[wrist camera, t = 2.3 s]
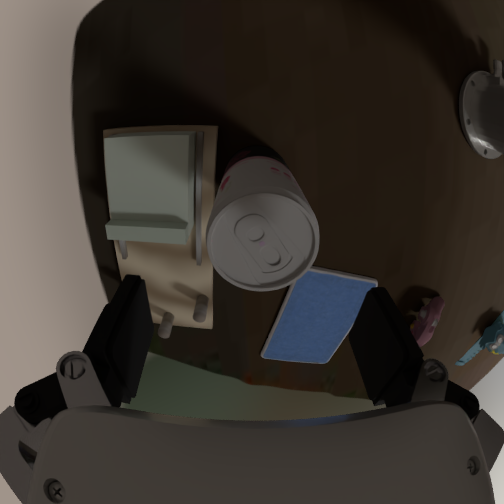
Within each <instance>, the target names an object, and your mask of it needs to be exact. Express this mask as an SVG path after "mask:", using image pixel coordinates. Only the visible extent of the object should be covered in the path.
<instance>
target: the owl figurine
mask: <svg viewBox="0 0 504 504" xmlns="http://www.w3.org/2000/svg"><path fill="white" fill-rule="evenodd" d="M502 323H503V324H502ZM482 347H483V348H482ZM485 347H487V349H488V351H489V352H492V353H494V354H504V310H503V311H502V313H501V314H500V315H499V317H498V318H497V319H496V320H495V321H494V323H493V324H492V325H491V326H490V327H487V328H486V329H485V330H484V333H483V335H482V336H481V338H480V339H479V340H478V341H477V342H476V343H475V344H474V345H473V346H472V347H471V348H470V349H469V351H468V352H467V353H466V354H465V355H464V356H463V357H462V358H461V359H460V361H457V362H456V363H455V365H464V364H465V363H466V362H468V361H469V360H470V359H472V357H474V356H475V355H476V354H477V353H479V351H478V350H482V349H485ZM475 353H476V354H475ZM471 356H472V357H471ZM468 359H469V360H468ZM464 362H465V363H464Z"/></svg>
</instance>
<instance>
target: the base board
mask: <svg viewBox="0 0 504 504" xmlns="http://www.w3.org/2000/svg"><path fill="white" fill-rule="evenodd" d="M162 131H196V142H195V175H194V225H193V228H192V230H191V233H190V235H189V238H188V240H187V243H186V245H183V244H169V243H154V242H139V241H125V240H114V244H115V250H116V255H117V260H118V265H119V270H120V274H121V279H122V280H123V279H124V277H125V275H126V274H132V275H140V277H141V279H144V280H145V283H146V289H147V295H148V300H149V305H150V310H151V315H152V320H153V323H160V327H159V331H158V335H159V336H160V337H162V338H168V337H169V335H170V332H171V328H172V325H177V326H186V327H196V328H207V329H212V326H213V265H212V263H211V261H210V258H209V255H208V250H207V246H206V228H207V224H208V220H209V217H210V214H211V211H212V208H213V205H214V198H215V175H216V155H217V138H218V126H204V125H164V126H140V127H125V128H113V129H106V130H103V141H104V138H107V137H110V136H113V135H116V134H121V133H136V132H162ZM104 161H105V150H104ZM105 175H106V167H105ZM106 186H107V179H106ZM107 196H108V190H107ZM108 204H109V199H108ZM109 212H110V207H109ZM110 219H111V215H110Z"/></svg>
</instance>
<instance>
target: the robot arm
mask: <svg viewBox="0 0 504 504" xmlns="http://www.w3.org/2000/svg"><path fill="white" fill-rule="evenodd" d="M501 62H502V63H501ZM501 62H500V61H498V60H493V68H494V74H490V73H488V72H485V71H474V72H472V73H470V74H469V75H468V76H467V77H466V78H465V80H464V82H463V84H462V86H461V90H460V96H459V114H460V121H461V125H462V129H463V132H464V135H465V137H466V139H467V141H468V143H469V145H470V146H471V148H472V149H473V150H474V151H475V152H476V153H477V154H479V155H481V156H483V157H485V158H489V159H493V158H497V157H498V156H500V155H501V154H504V60H502V61H501ZM501 75H502V77H501ZM153 332H154V325H153V320H152V315H151V310H150V305H149V300H148V295H147V289H146V283H145V280H144V279H141V277H140V275H132V274H126V275H125V277H124V279H123V280H122V282H121V284H120V286H119V288H118V289H117V291H116V293H115V295H114V297H113V299H112V301H111V303H110V304H109V303H108V304H106V306H105V307H104V309H103V311H102V313H101V314H100V316H99V318H98V320H97V322H96V324H95V326H94V328H93V330H92V332H91V335H90V336H89V338H88V341H87V343H86V345H85V347H84V349H83V351H82V352H80V351H72V352H68V353H67V354H64V355H63V356H62V357H61V358H60V359H59V361H58V363H57V366H56V372H55V373H53V374H51V375H49V376H47V377H45V378H43V379H40V380H38V381H36V382H34V383H32V384H30V385H28V386H25V387H23V388H22V389H20V390H19V392H18V393H17V395H16V397H15V403H14V404H15V405H14V406H13V407H11V406H9V407H8V408H7V409H6V410H5V411H3V412H2V413H1V414H0V473H1V474H2V476H3V477H4V479H5V480H6V482H7V483H8V485H9V486H10V488H11V489H12V490H13V492H14V493H15V495H16V496H17V497H18V499H19V500H20V501H21V502H22V504H495V500H494V493H493V488H492V483H491V478H490V475H489V472H490V470H491V469H492V467H493V465H494V463H495V461H496V459H497V457H498V455H499V453H500V451H501V448H502V446H503V444H504V431H503V429H502V428H501V427H500V426H499V425H498V424H497V423H496V422H495V421H494V420H493V419H492V418H491V417H490V416H489V415H488V414H487V413H486V412H485V411H484V410H483V409H481V410H479V401H478V399H477V398H476V396H475V395H474V394H473V393H471V392H470V391H468V390H466V389H464V388H462V387H461V386H459V385H457V384H455V383H453V382H451V381H450V380H448V371H447V369H446V367H445V365H444V364H443V363H442V362H440V361H438V360H436V359H430V358H429V359H426V360H425V361H424V360H423V356H424V355H423V353H422V351H421V349H420V347H419V345H418V343H417V341H416V340H415V338H414V336H413V334H412V332H411V330H410V329H409V327H408V325H407V323H406V322H405V320H404V318H403V316H402V315H401V313H400V311H399V310H398V308H397V306H396V305H395V303H394V301H393V300H392V298H391V296H390V295H389V293H388V292H387V290H386V289H385V288H384V287H372V288H371V289H370V290H369V291H367V293H366V296H365V298H364V300H363V303H362V305H361V308H360V310H359V312H358V315H357V317H356V319H355V321H354V324H353V326H352V328H351V330H350V332H349V341H350V344H351V347H352V350H353V352H354V355H355V358H356V361H357V364H358V367H359V370H360V373H361V376H362V379H363V382H364V385H365V388H366V391H367V394H368V397H369V399H370V400H372V401H373V404H374V406H377V405H382V404H386V408H381V409H376V410H371V411H365V412H359V413H353V414H346V415H339V416H331V417H321V418H311V419H298V420H278V421H233V420H214V419H200V418H189V417H180V416H172V415H164V414H157V413H150V412H144V411H138V410H132V409H125V408H119V407H120V406H121V402H123V403H128V404H130V401H131V397H132V398H135V396H136V393H137V389H138V385H139V381H140V378H141V374H142V370H143V367H144V363H145V359H146V356H147V353H148V349H149V346H150V343H151V339H152V336H153Z"/></svg>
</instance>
